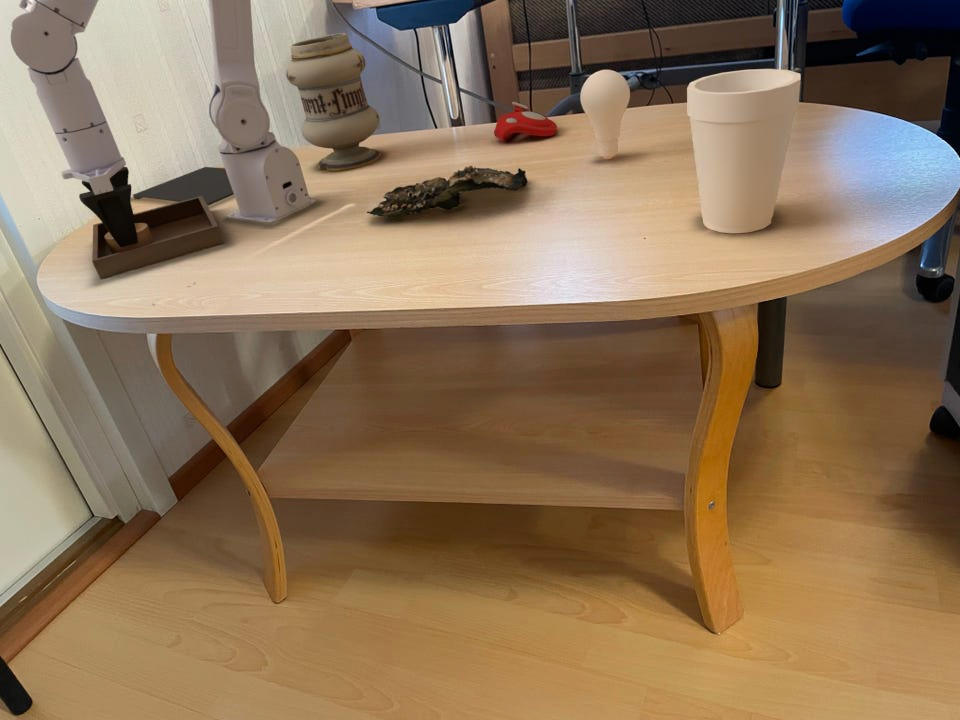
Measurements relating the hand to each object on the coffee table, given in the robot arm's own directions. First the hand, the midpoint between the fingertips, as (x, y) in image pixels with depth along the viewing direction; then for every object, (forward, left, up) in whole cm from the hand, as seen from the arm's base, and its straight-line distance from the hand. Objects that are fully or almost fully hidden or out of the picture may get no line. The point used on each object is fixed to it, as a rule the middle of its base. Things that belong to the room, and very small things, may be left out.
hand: (128, 236), depth 88 cm
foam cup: (-68, -25, -2) cm, 72 cm away
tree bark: (-34, -23, -2) cm, 41 cm away
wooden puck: (0, 0, -1) cm, 1 cm away
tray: (-3, -2, -2) cm, 4 cm away
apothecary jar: (-4, -36, -2) cm, 36 cm away
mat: (+13, -21, -2) cm, 25 cm away
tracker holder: (-27, -53, -2) cm, 60 cm away
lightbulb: (-46, -42, -2) cm, 62 cm away
